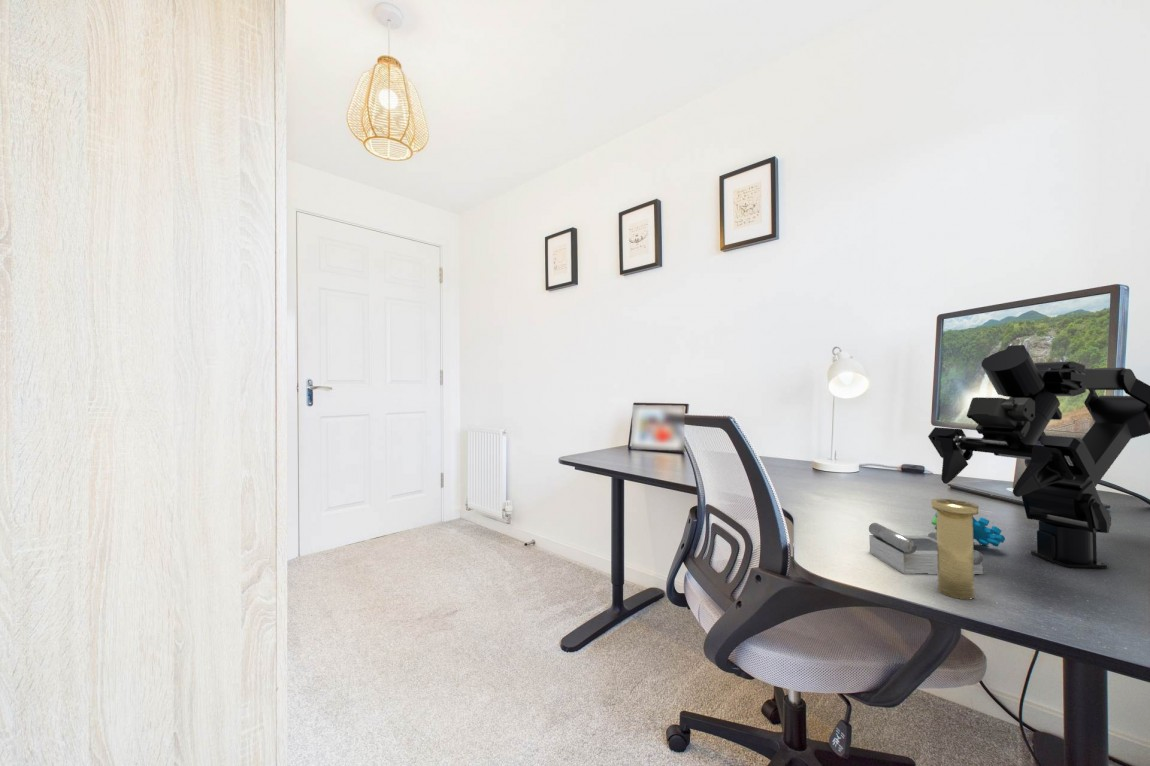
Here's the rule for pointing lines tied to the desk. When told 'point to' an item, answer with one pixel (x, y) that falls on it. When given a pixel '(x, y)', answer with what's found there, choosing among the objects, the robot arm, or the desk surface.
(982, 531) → the gear
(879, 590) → the desk surface
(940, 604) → the desk surface
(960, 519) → the pin
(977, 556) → the metal roller frame
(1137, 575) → the desk surface
